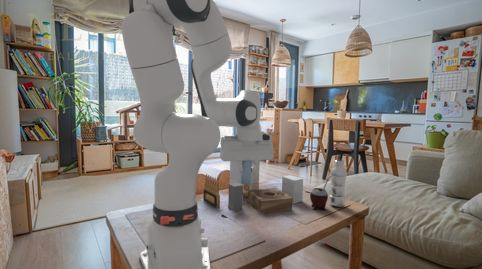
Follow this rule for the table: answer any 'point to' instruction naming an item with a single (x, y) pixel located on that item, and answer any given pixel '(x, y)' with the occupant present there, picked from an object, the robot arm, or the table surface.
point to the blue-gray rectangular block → (246, 172)
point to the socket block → (269, 200)
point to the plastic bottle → (338, 184)
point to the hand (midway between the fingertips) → (246, 172)
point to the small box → (293, 187)
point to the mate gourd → (319, 197)
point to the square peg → (235, 196)
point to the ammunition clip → (211, 191)
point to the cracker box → (236, 177)
